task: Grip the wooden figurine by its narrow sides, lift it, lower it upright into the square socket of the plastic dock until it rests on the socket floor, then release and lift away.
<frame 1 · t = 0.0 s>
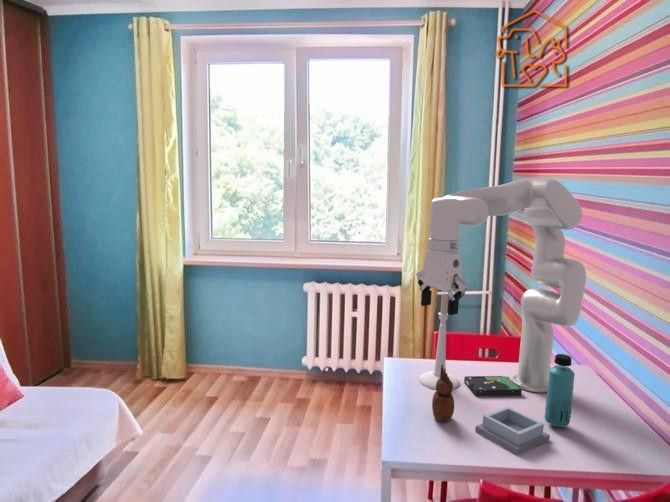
hand: (438, 309, 133), 31 cm above the table, tool pointing down, fingers open, 9 cm apart
disk drive: (491, 391, 159), on the table
figurine dock: (511, 435, 131), on the table
beverage bottle: (556, 426, 137), on the table
candlestick: (439, 382, 163), on the table
wooden figurine: (442, 419, 139), on the table
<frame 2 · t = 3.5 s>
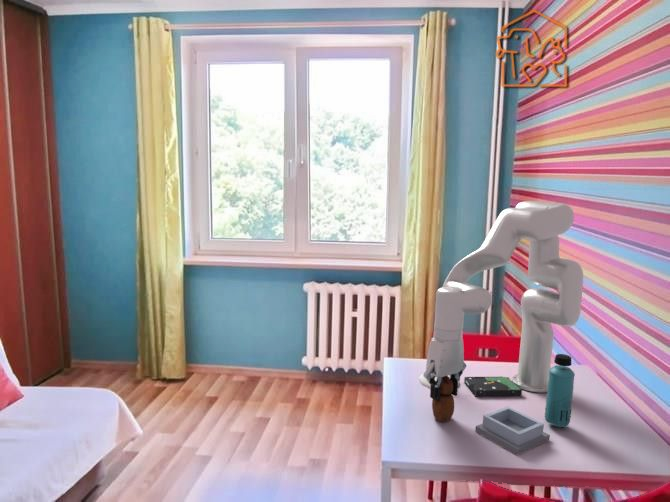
hand: (443, 395, 138), 7 cm above the table, tool pointing down, fingers closed on wooden figurine, 5 cm apart
wooden figurine: (442, 419, 139), on the table, touching gripper
everything else where it was.
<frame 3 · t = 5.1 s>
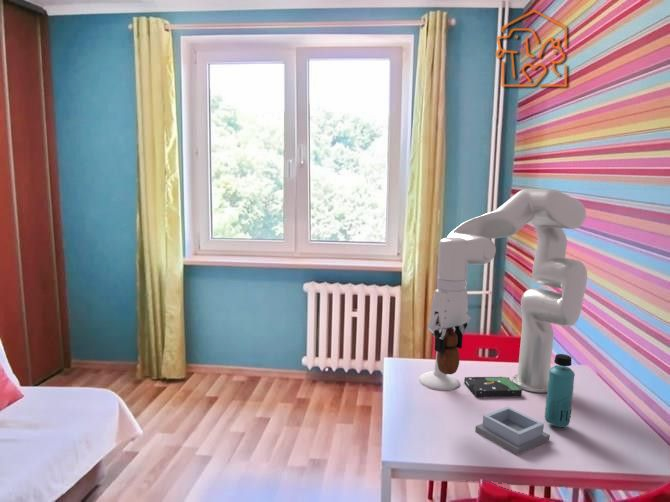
hand: (448, 348, 136), 20 cm above the table, tool pointing down, fingers closed on wooden figurine, 5 cm apart
wooden figurine: (447, 372, 137), point 13 cm above the table, touching gripper
everything else where it was.
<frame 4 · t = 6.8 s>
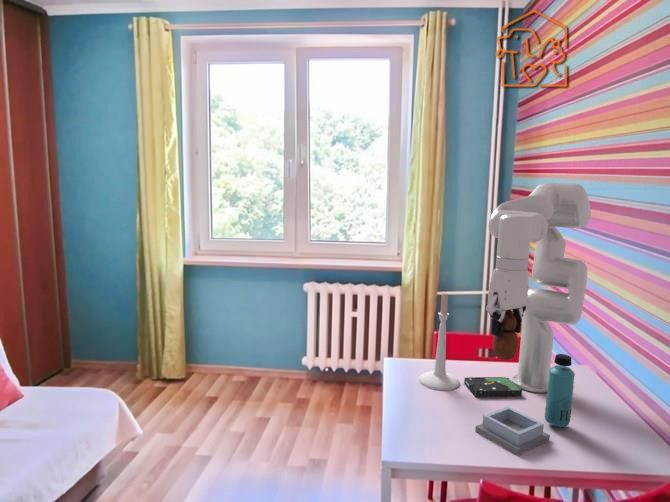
hand: (505, 332, 128), 27 cm above the table, tool pointing down, fingers closed on wooden figurine, 5 cm apart
wooden figurine: (503, 358, 129), point 20 cm above the table, touching gripper
everything else where it was.
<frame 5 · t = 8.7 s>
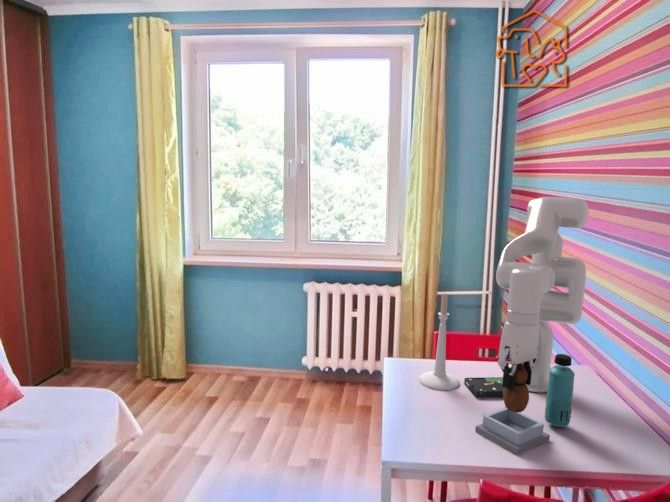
hand: (516, 385, 128), 14 cm above the table, tool pointing down, fingers closed on wooden figurine, 5 cm apart
wooden figurine: (514, 409, 129), point 7 cm above the table, touching gripper
when the fingers open (9 cm above the table, at t = 10.3 s): wooden figurine stays where it is, resting on figurine dock.
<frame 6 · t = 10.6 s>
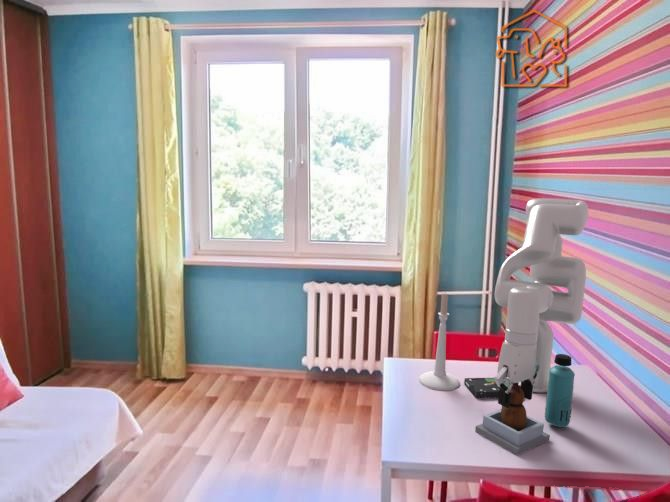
hand: (514, 401, 129), 10 cm above the table, tool pointing down, fingers open, 8 cm apart
wooden figurine: (512, 430, 131), point 1 cm above the table, touching figurine dock
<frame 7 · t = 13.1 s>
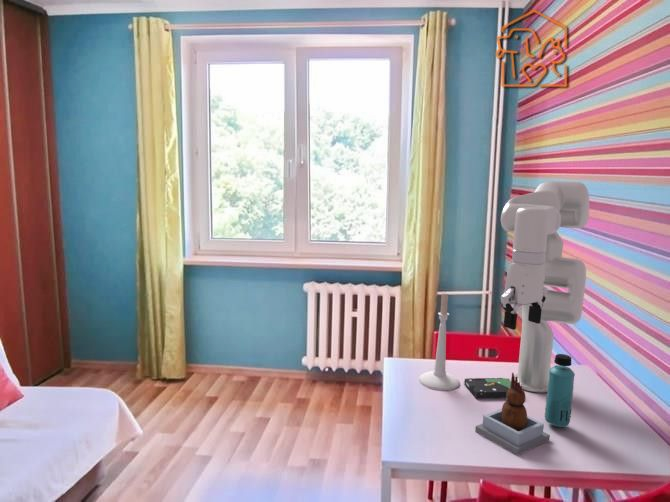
hand: (522, 325, 126), 30 cm above the table, tool pointing down, fingers open, 9 cm apart
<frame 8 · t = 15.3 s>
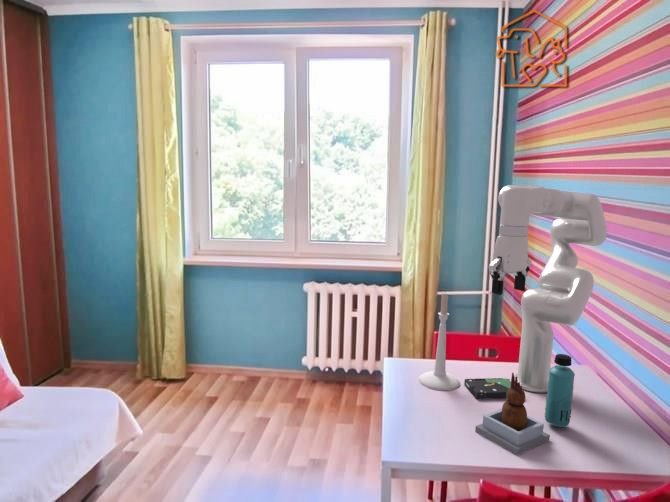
hand: (508, 291, 142), 34 cm above the table, tool pointing down, fingers open, 9 cm apart
at the end: wooden figurine 0.3 cm off-centre on the figurine dock, point 1.3 cm above the figurine dock's base; wooden figurine tilted 0°; the gripper is holding nothing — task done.
